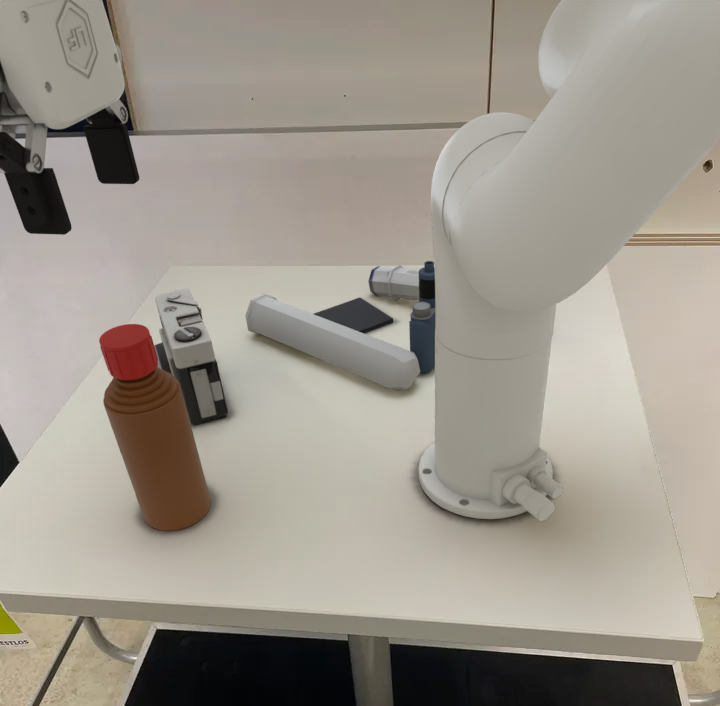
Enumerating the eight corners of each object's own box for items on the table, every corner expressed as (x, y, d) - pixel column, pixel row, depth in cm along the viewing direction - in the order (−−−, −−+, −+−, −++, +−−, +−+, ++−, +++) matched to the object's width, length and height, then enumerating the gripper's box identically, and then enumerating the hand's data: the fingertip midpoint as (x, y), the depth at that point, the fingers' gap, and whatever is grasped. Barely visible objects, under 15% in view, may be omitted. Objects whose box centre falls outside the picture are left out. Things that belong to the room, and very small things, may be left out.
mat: (393, 322, 94) (393, 318, 94) (341, 342, 91) (341, 337, 91) (360, 301, 99) (359, 297, 99) (310, 318, 96) (309, 314, 96)
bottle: (221, 512, 68) (178, 342, 56) (157, 541, 65) (98, 370, 54) (195, 477, 72) (149, 313, 60) (134, 503, 70) (74, 337, 58)
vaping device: (443, 355, 87) (444, 259, 79) (428, 377, 83) (427, 279, 76) (423, 351, 88) (422, 257, 80) (407, 373, 84) (404, 276, 77)
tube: (432, 349, 80) (277, 291, 94) (403, 355, 77) (246, 294, 90) (423, 393, 83) (273, 331, 96) (395, 401, 79) (243, 336, 92)
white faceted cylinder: (385, 258, 100) (554, 270, 86) (392, 304, 104) (555, 322, 90) (363, 272, 97) (535, 287, 83) (371, 319, 101) (537, 340, 86)
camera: (141, 373, 88) (119, 297, 82) (207, 357, 90) (190, 282, 84) (157, 434, 78) (132, 354, 72) (231, 416, 80) (213, 335, 73)
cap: (165, 369, 58) (156, 337, 56) (118, 385, 57) (107, 353, 55) (148, 350, 61) (139, 319, 59) (103, 365, 59) (92, 334, 57)
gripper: (-51, -105, 33) (70, 258, 44) (126, -116, 45) (185, 167, 56) (-185, -93, 34) (-36, 254, 45) (22, -107, 47) (99, 166, 58)
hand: (87, 205), depth 51 cm, fingers open, 9 cm apart
